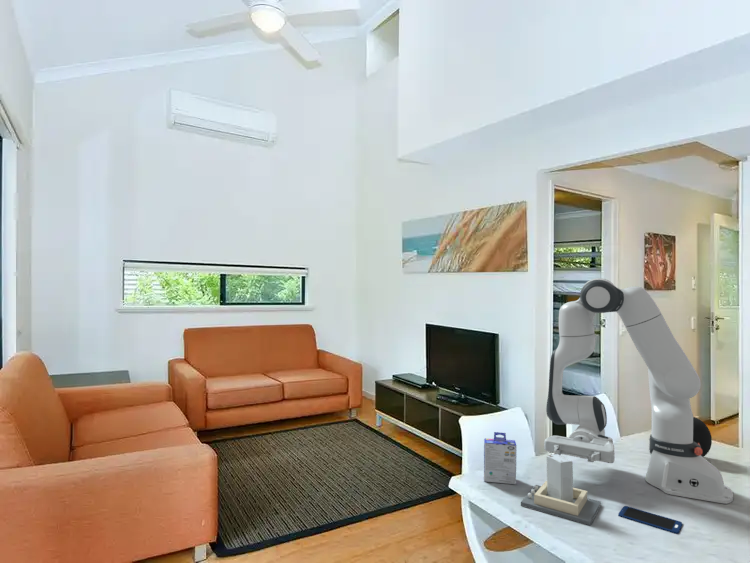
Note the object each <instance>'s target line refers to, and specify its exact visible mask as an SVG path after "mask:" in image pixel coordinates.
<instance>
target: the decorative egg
mask: <svg viewBox="0 0 750 563" xmlns="http://www.w3.org/2000/svg"><path fill="white" fill-rule="evenodd" d="M693 441H694V442H696V443H697V444H698V443H699V444H700V446H701V449H702V451H703V453H702V454H701V456H702V457H704V458H705V456H707V454H708V453H709V452H710V450H711V448H712V443H713V438H712V434H711V430H710V429H709V427H708V426H707V424H706V423H705V422H703V420H702V419H700V418H697V417H696V416H693Z"/></svg>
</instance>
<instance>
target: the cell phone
mask: <svg viewBox="0 0 750 563" xmlns="http://www.w3.org/2000/svg"><path fill="white" fill-rule="evenodd" d="M618 517H620V518H623V519H626V520H629V521H633V522H636V523H638V524H642V525H646V526H648V527H649V526H650V527H652V528H655V529H658V530H662V531H666V532H669V533H671V534H675V535H679V533H680V532H681V530H682V527H683V522H682V521H680V520H677V519H672V518H669V517H666V516H663V515H658V514H656V513H653V512H649V511H645V510H642V509H639V508H635V507H632V506H630V505H629V506H627V505H624V506H623V507H622V508H621V509H620V511H619V512H618Z"/></svg>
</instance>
